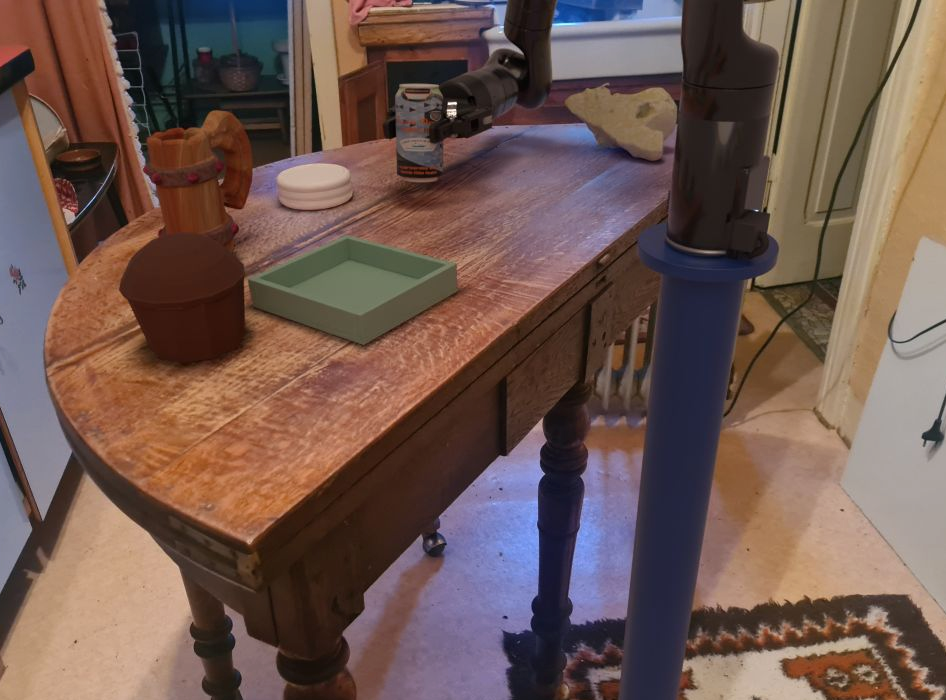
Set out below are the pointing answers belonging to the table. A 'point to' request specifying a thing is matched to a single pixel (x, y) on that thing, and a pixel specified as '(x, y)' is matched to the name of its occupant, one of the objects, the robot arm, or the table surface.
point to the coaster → (314, 186)
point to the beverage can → (418, 132)
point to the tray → (354, 287)
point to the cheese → (627, 119)
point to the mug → (201, 177)
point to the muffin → (186, 296)
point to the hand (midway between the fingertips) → (409, 133)
